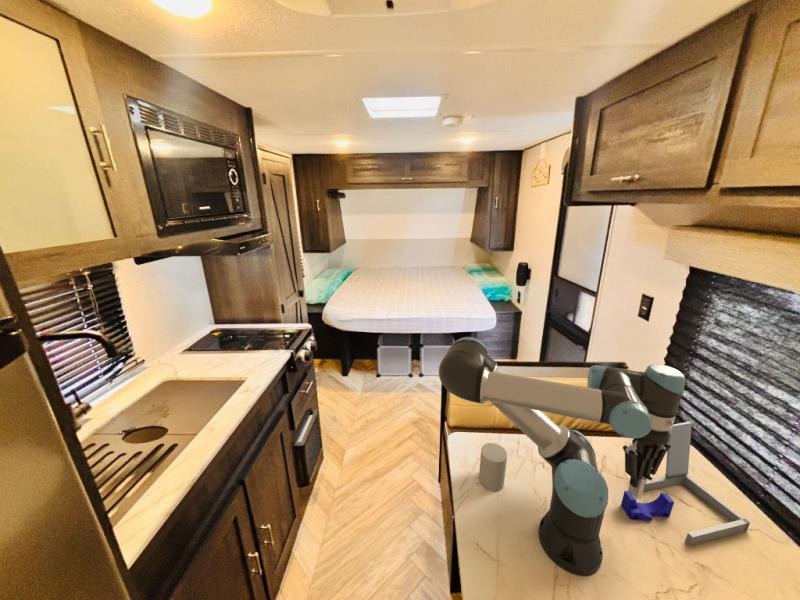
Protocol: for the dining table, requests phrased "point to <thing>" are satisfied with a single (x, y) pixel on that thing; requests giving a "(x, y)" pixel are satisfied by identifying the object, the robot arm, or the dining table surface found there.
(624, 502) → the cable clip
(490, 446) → the gray solid cylinder
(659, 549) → the dining table surface
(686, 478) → the gray u-shaped frame
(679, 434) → the cover
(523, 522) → the dining table surface
